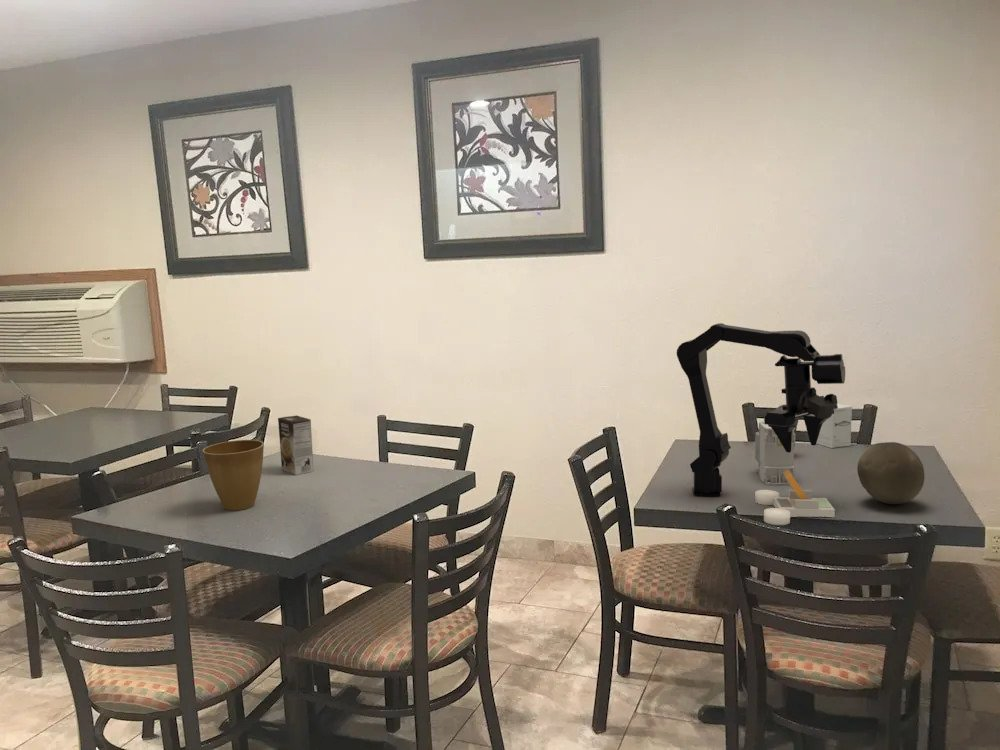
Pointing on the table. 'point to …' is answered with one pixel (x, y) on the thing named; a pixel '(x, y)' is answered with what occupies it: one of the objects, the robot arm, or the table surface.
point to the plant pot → (235, 471)
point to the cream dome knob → (765, 497)
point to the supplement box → (837, 428)
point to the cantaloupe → (891, 472)
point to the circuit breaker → (773, 456)
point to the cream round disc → (777, 516)
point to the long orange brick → (794, 484)
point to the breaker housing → (804, 505)
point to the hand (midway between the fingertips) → (801, 448)
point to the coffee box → (296, 444)
